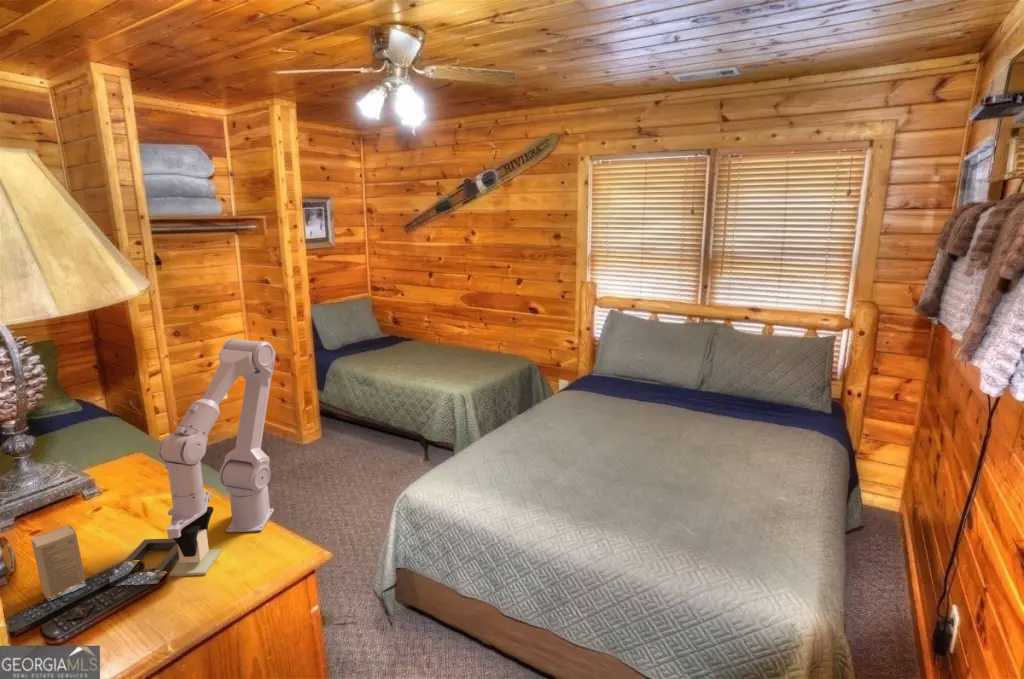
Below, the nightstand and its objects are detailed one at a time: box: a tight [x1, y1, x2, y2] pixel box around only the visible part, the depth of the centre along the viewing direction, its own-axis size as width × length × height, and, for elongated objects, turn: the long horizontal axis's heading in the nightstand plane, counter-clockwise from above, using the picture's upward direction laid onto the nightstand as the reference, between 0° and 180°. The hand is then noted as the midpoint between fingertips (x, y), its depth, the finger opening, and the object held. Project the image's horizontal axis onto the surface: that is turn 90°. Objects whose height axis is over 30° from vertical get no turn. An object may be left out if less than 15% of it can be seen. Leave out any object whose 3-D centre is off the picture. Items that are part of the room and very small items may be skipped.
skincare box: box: [30, 524, 86, 599], centre depth 106 cm, size 6×4×12 cm
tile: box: [168, 548, 223, 577], centre depth 117 cm, size 8×7×1 cm
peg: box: [178, 529, 210, 563], centre depth 116 cm, size 4×4×5 cm
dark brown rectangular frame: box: [124, 538, 180, 578], centre depth 116 cm, size 13×9×2 cm
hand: (194, 549), depth 116 cm, fingers closed on peg, 4 cm apart
